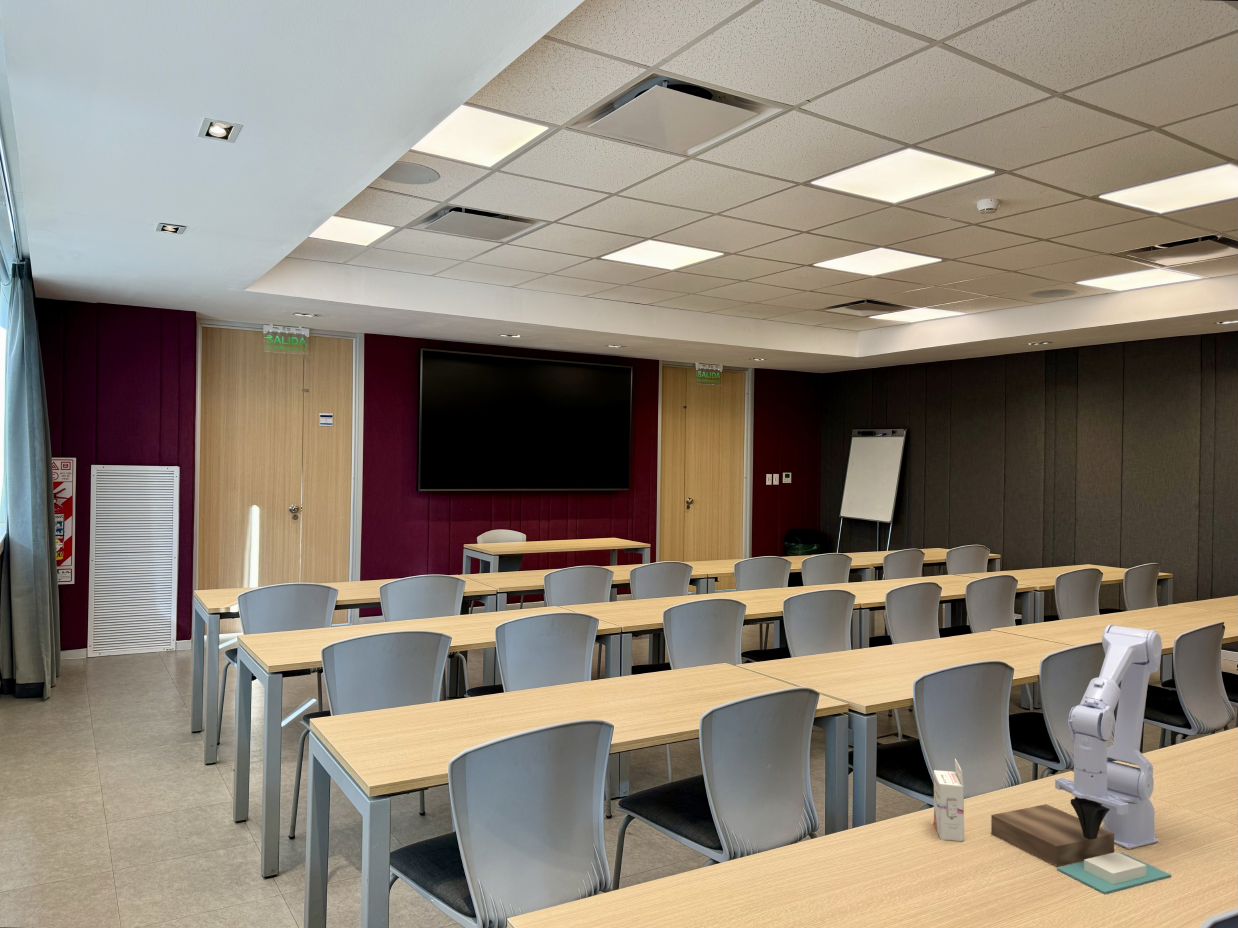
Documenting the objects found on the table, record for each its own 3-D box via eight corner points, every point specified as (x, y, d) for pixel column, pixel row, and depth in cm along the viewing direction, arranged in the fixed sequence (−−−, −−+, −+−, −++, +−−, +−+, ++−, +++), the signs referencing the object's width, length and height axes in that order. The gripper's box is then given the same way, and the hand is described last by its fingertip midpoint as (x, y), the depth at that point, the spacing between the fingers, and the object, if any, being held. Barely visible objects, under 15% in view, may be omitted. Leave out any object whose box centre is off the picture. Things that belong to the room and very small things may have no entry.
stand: (1046, 822, 182) (1046, 803, 182) (1114, 853, 168) (1114, 833, 168) (991, 833, 176) (991, 814, 176) (1056, 866, 162) (1056, 846, 162)
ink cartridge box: (932, 823, 182) (932, 755, 182) (956, 825, 181) (956, 757, 181) (939, 839, 173) (939, 768, 174) (964, 842, 172) (964, 770, 173)
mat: (1121, 854, 167) (1121, 852, 167) (1171, 876, 158) (1171, 874, 158) (1056, 869, 160) (1056, 867, 160) (1104, 894, 151) (1104, 891, 151)
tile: (1146, 865, 157) (1146, 875, 157) (1116, 851, 163) (1116, 861, 163) (1113, 873, 154) (1113, 884, 154) (1084, 859, 160) (1084, 869, 159)
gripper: (1044, 758, 169) (1044, 825, 169) (1109, 783, 156) (1110, 856, 155) (1069, 754, 172) (1069, 820, 172) (1136, 778, 158) (1136, 850, 158)
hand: (1090, 837), depth 164 cm, fingers closed
